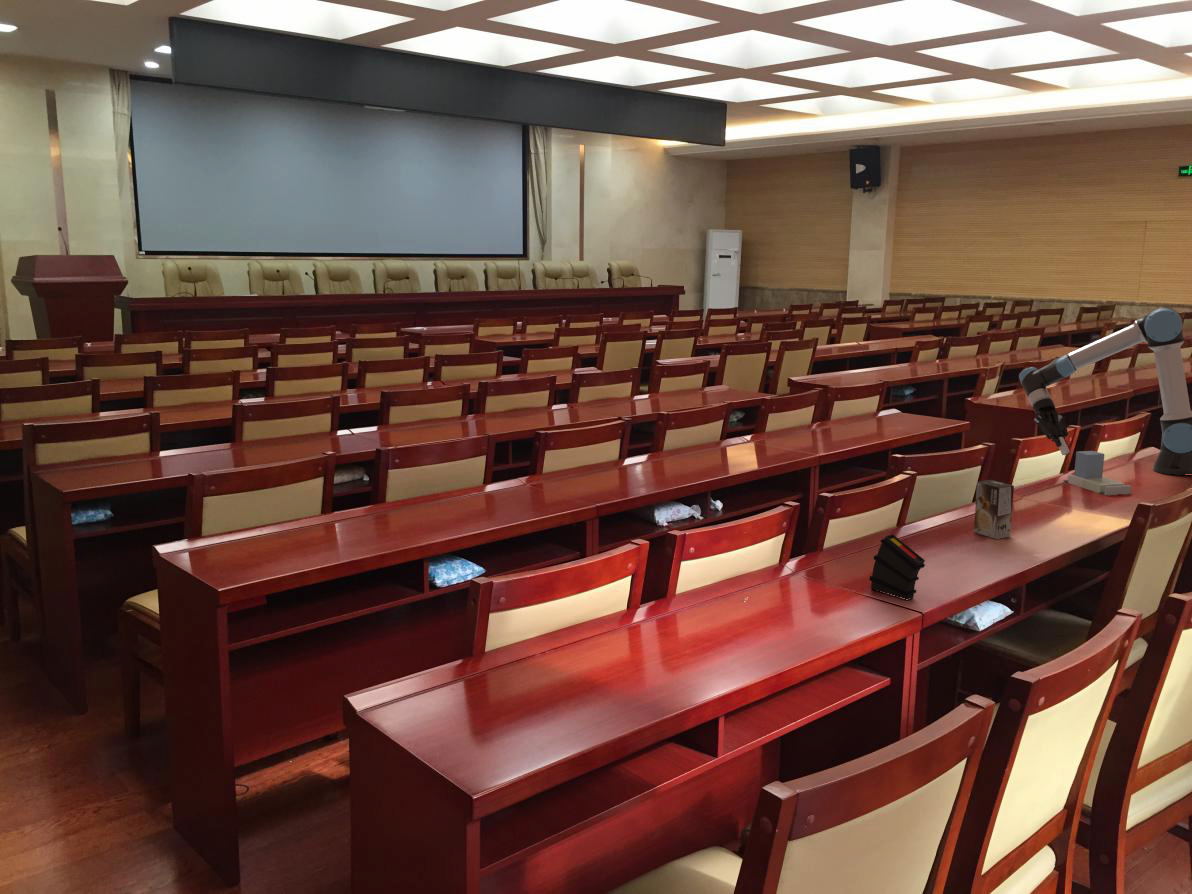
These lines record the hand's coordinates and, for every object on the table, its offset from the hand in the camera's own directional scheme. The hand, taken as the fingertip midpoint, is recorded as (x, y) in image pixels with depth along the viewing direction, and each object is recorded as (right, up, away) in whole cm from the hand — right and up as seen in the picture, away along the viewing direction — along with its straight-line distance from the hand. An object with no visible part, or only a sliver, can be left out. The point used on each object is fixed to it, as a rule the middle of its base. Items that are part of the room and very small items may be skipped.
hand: (1066, 453), depth 364 cm
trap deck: (+4, -12, -14) cm, 19 cm away
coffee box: (-58, -25, -71) cm, 95 cm away
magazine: (-103, -35, -122) cm, 164 cm away
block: (+3, -9, -10) cm, 13 cm away
